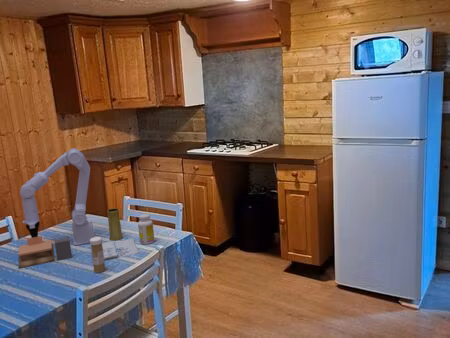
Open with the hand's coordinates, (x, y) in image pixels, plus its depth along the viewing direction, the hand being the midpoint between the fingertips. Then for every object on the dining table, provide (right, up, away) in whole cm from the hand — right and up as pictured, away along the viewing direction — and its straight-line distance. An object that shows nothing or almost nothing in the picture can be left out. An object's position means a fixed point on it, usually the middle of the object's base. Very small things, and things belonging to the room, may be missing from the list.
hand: (35, 238), depth 193 cm
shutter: (+4, -3, -7) cm, 9 cm away
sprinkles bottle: (+37, -9, -25) cm, 45 cm away
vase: (+35, -2, +9) cm, 36 cm away
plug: (+17, -6, -10) cm, 21 cm away
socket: (+4, -7, -7) cm, 10 cm away
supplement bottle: (+51, -2, +2) cm, 51 cm away
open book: (+38, -5, -5) cm, 39 cm away
